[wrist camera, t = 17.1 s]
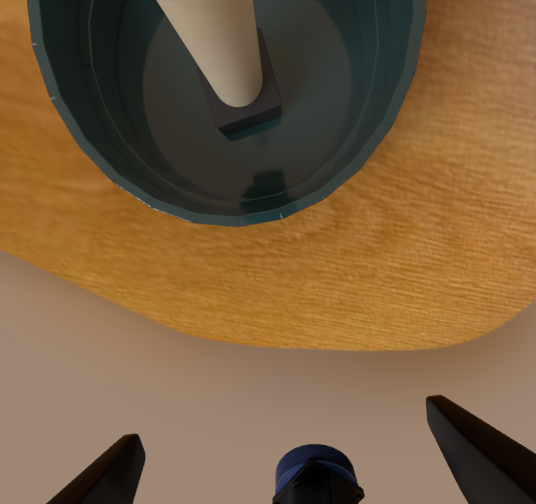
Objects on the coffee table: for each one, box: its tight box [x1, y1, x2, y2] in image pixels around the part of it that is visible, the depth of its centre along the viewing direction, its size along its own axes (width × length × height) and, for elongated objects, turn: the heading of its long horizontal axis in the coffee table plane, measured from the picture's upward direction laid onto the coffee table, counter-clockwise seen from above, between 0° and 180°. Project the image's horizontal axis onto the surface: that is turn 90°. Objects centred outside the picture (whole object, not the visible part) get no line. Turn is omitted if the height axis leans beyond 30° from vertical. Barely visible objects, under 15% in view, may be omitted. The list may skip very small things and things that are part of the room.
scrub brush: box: [157, 0, 282, 136], centre depth 10 cm, size 4×4×14 cm
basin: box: [27, 0, 426, 227], centre depth 15 cm, size 18×18×6 cm
